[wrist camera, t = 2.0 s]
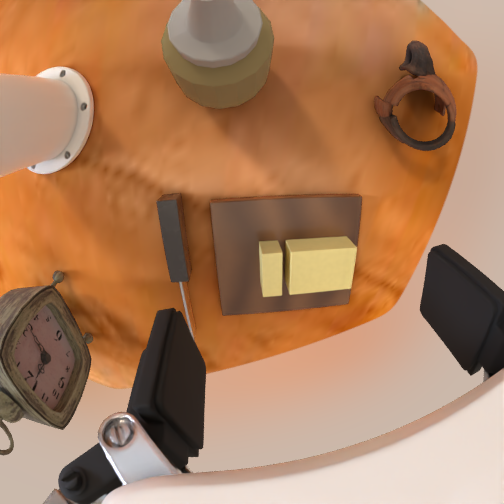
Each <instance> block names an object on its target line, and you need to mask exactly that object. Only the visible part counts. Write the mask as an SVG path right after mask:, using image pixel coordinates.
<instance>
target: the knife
mask: <svg viewBox="0 0 504 504" xmlns="http://www.w3.org/2000/svg"><path fill="white" fill-rule="evenodd" d="M157 207H158V214H159V220H160V226H161V232H162V238H163V244H164V249H165V254H166V260H167V265H168V270H169V274H170V279H171V282H179V284H180V289H181V294H182V298H183V303H184V308H185V312H186V317H187V321H188V325H189V330H190V333H191V335H192V337H193V339H194V341H195V334H196V326H195V321H194V317H193V312H192V307H191V302H190V297H189V292H188V286H187V282H188V281H189V278H190V274H191V270H192V268H191V262H190V256H189V249H188V243H187V236H186V228H185V221H184V213H183V205H182V197H181V193H176V194H167V195H162V196H161V198H160V199H159V200H158V201H157Z"/></svg>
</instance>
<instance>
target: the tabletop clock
mask: <svg viewBox="0 0 504 504" xmlns="http://www.w3.org/2000/svg"><path fill="white" fill-rule="evenodd" d="M63 278H64V275H63V273H62V272H61V271H55V272H54V274H53V280H54V281H53V283H52V284H51V285H48V286H38V287H28V288H18V289H13V290H10V291H9V292H7V293H6V294H4V295H3V296H2V297H0V427H1V428H2V429H3V430H4V431H5V432H6V434H7V436H8V438H9V440H10V448H9V449H7V450H0V455H7V454H9V453H11V452H12V450H13V447H14V442H13V438H12V435H11V433H10V432H9V430H8V428H7V427H6V425H5V424H4V423H3V422H2V419H3V420H5V421H7V422H10V423H14V422H17V421H19V420H20V419H21V418H22V417H23V418H26V419H29V420H32V421H35V422H38V423H41V424H44V425H48V426H51V427H54V428H58V429H62V430H63V429H64V428H65V427H66V426H67V425H68V423H69V422H70V420H71V419H72V417H73V415H74V413H75V411H76V408H77V406H78V404H79V402H80V399H81V397H82V394H83V391H84V388H85V385H86V382H87V379H88V375H89V371H90V366H91V356H90V352H89V349H88V346H87V344H89V343H91V342H92V341H93V337H92V335H91V334H90V333H86V334H84V336H82V334H81V332H80V329H79V327H78V325H77V323H76V321H75V319H74V317H73V316H72V314H71V312H70V310H69V308H68V307H67V305H66V303H65V301H64V299H63V298H62V296H61V294H60V293H59V292H58V290H57V289H56V288H55V286H56V284H57V283H60V282H62V281H63ZM86 343H87V344H86Z"/></svg>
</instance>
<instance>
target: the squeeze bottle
mask: <svg viewBox="0 0 504 504" xmlns="http://www.w3.org/2000/svg"><path fill="white" fill-rule="evenodd" d="M161 43H162V50H163V56H164V60H165V62H166V63H167V65H168V67H169V69H170V71H171V73H172V75H173V76H174V78H175V80H176V82H177V84H178V85H179V87H180V88H181V89H182V91H183V92H184V94H185V95H186V96H187V97H188V98H189V99H191V100H193V101H194V102H196V103H198V104H199V105H201V106H205V107H211V108H217V109H223V108H229V107H234V106H239V105H241V104H243V103H244V102H246V101H248V100H250V99H251V98H253V97H255V96H256V94H257V93H258V92H259V91H260V89H261V88H262V87H263V86H264V84H265V83H266V80H267V76H268V72H269V68H270V63H271V56H272V50H273V43H274V36H273V31H272V27H271V22H270V21H269V19H268V18H267V17H266V16H265V14H264V13H263V12H262V11H261V9H260V8H259V7H257V5H256V4H255V3H254V2H253V1H252V0H182V1H181V3H180V4H179V5H178V6H177V7H176V8H175V9H174V10H173V11H172V14H171V16H170V19H169V22H168V23H167V25H166V28H165V31H164V34H163V37H162V40H161Z"/></svg>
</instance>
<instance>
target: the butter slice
mask: <svg viewBox="0 0 504 504" xmlns="http://www.w3.org/2000/svg"><path fill="white" fill-rule="evenodd" d="M259 256H260V283H261V288H262V294H263V297H270V296H282V262H283V253H282V250H281V247H280V245H279V242H278V240H276V241H260V242H259Z"/></svg>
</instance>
